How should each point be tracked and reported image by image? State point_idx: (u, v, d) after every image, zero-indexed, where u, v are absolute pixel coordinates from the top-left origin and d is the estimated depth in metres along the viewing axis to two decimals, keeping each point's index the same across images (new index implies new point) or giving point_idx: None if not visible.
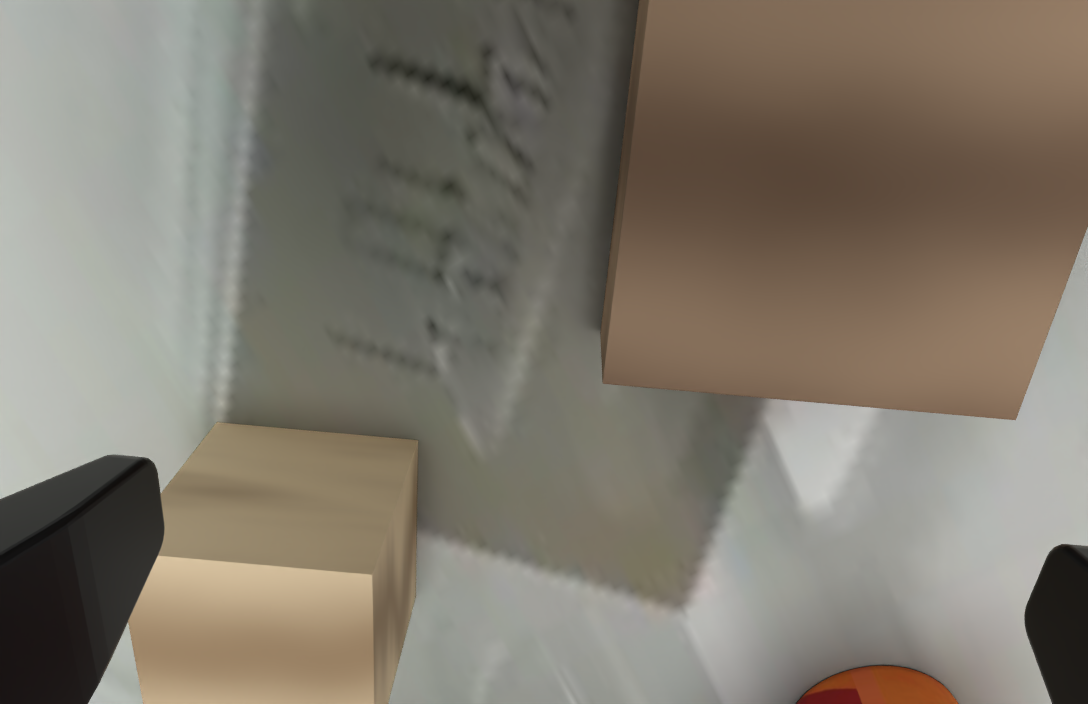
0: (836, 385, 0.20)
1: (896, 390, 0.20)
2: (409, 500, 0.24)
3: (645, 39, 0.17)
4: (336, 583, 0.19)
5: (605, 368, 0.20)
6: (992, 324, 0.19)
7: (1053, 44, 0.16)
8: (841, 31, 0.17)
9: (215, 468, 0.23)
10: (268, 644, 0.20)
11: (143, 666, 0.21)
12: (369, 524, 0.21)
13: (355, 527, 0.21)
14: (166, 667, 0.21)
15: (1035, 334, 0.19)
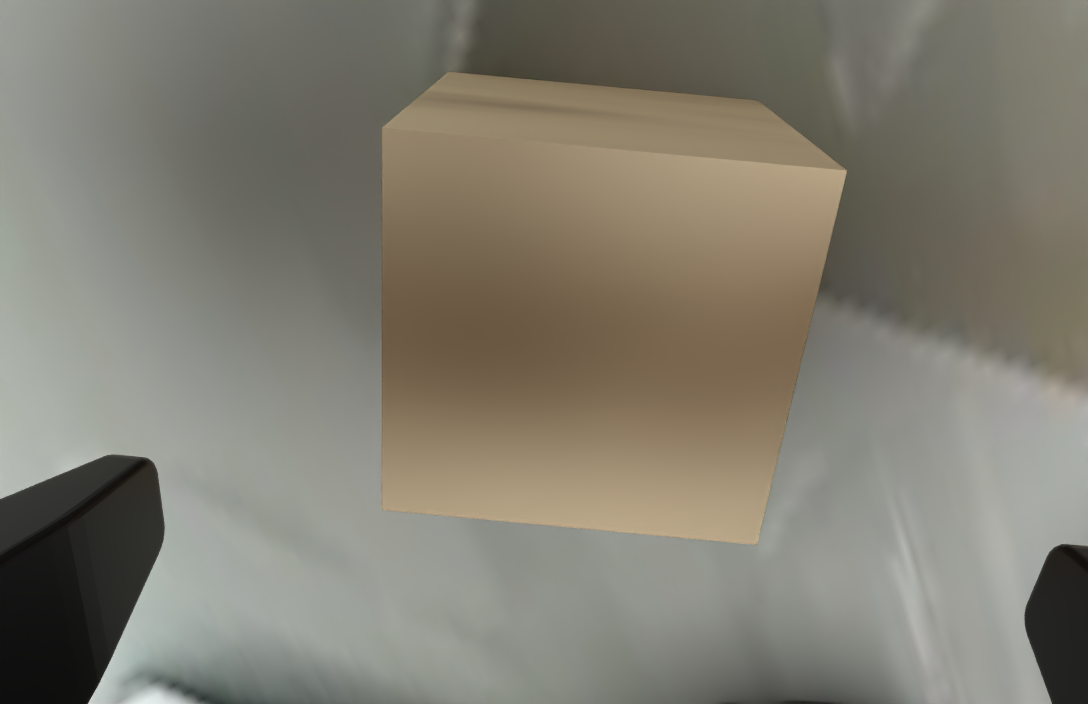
0: None
1: None
2: None
3: None
4: (775, 191, 0.11)
5: None
6: None
7: None
8: None
9: (481, 93, 0.14)
10: (621, 328, 0.12)
11: (393, 378, 0.12)
12: (779, 139, 0.12)
13: (759, 139, 0.12)
14: (433, 379, 0.12)
15: None
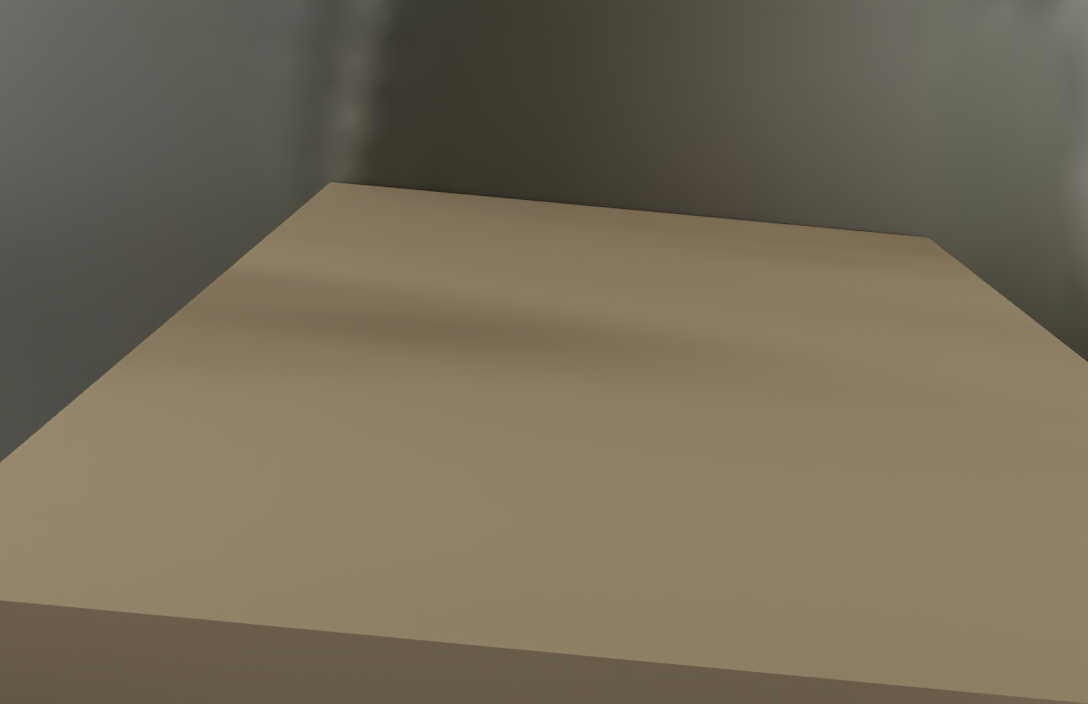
0: None
1: None
2: None
3: None
4: None
5: None
6: None
7: None
8: None
9: (362, 267, 0.06)
10: None
11: None
12: None
13: (1085, 466, 0.04)
14: None
15: None
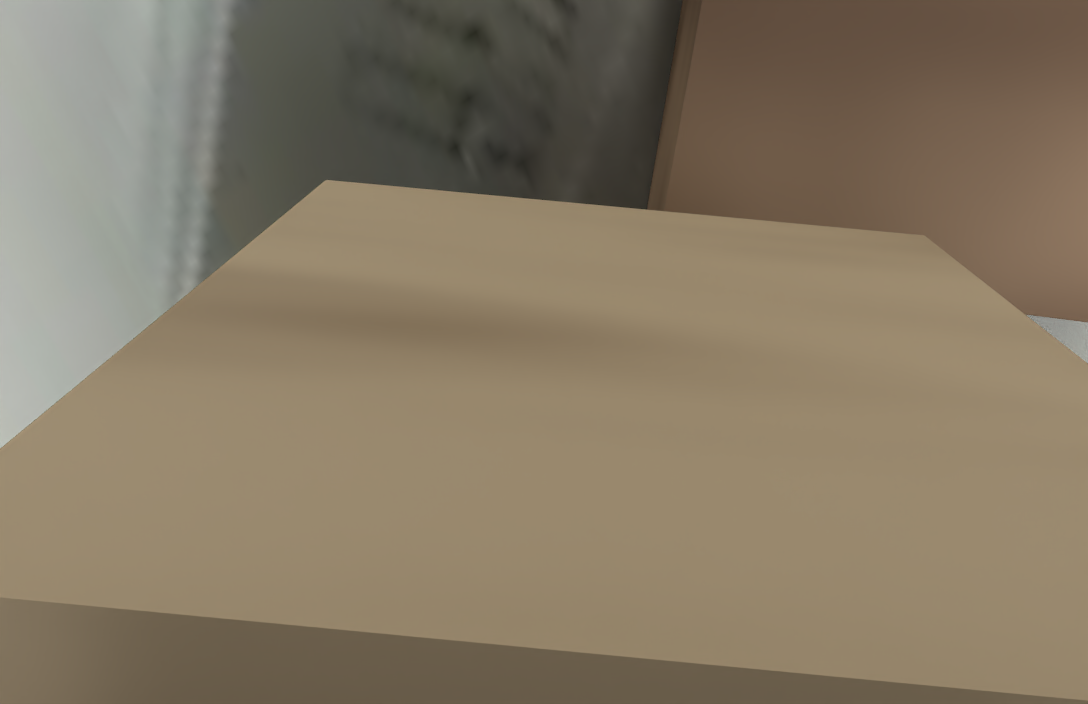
0: None
1: (1010, 287, 0.16)
2: None
3: None
4: None
5: None
6: None
7: None
8: None
9: (355, 264, 0.06)
10: None
11: None
12: None
13: (1080, 464, 0.04)
14: None
15: None
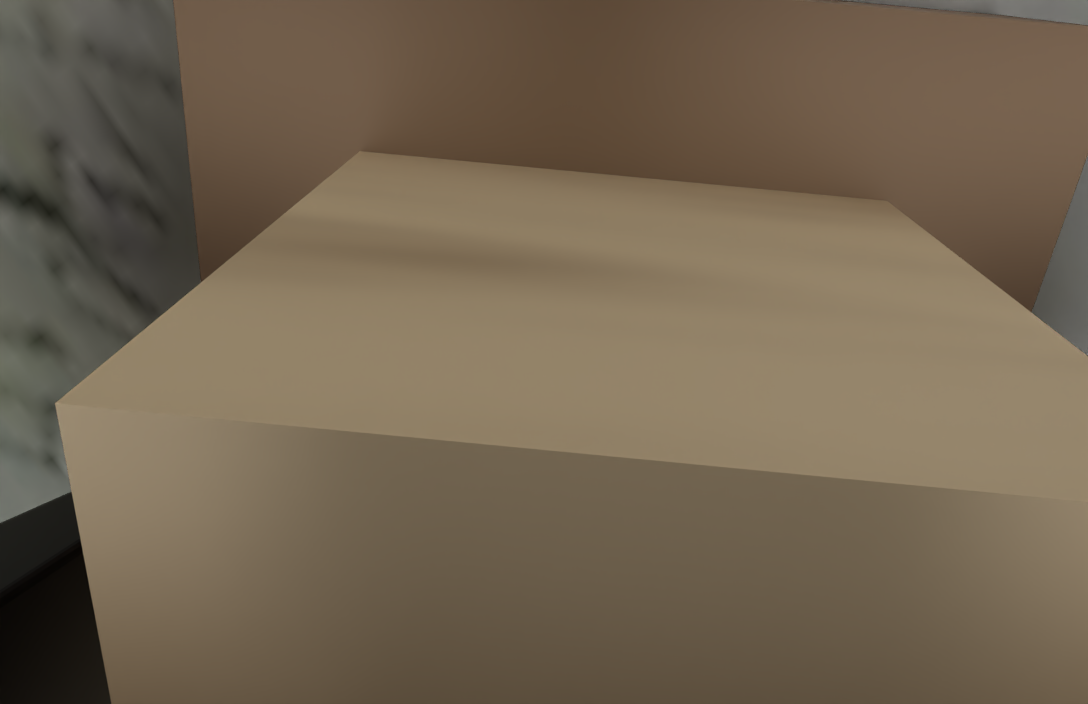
0: None
1: None
2: None
3: (188, 151, 0.09)
4: None
5: None
6: None
7: (902, 167, 0.09)
8: (526, 141, 0.09)
9: (394, 215, 0.07)
10: None
11: None
12: (1021, 353, 0.06)
13: (983, 358, 0.05)
14: None
15: None
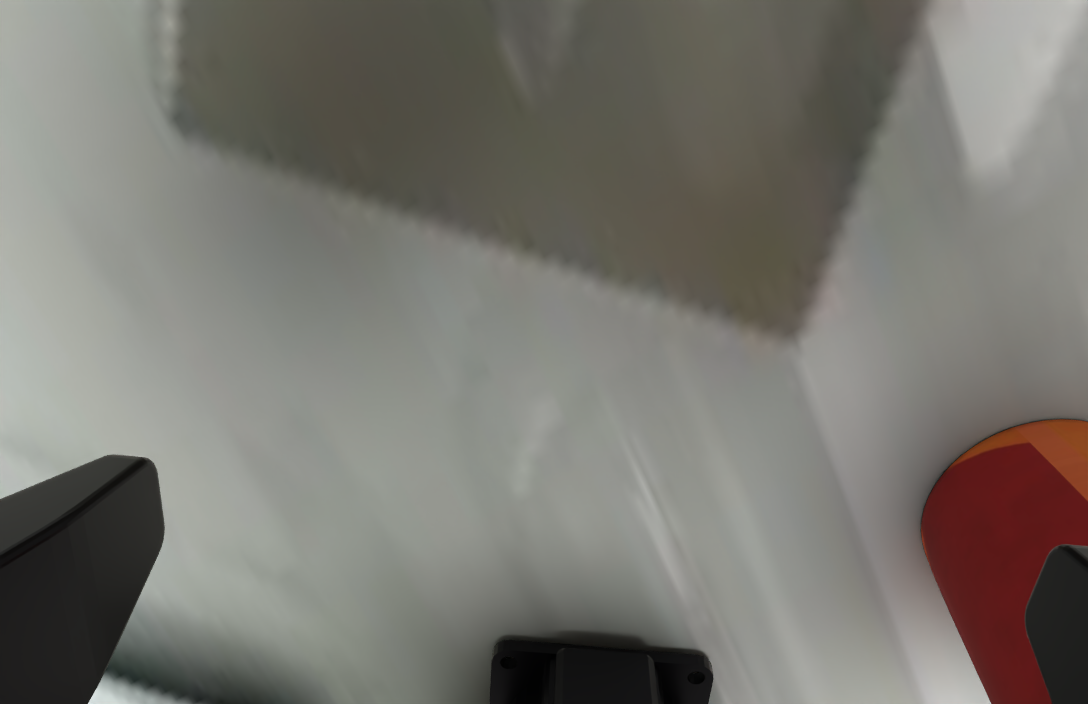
0: None
1: None
2: None
3: None
4: None
5: None
6: None
7: None
8: None
9: None
10: None
11: None
12: None
13: None
14: None
15: None
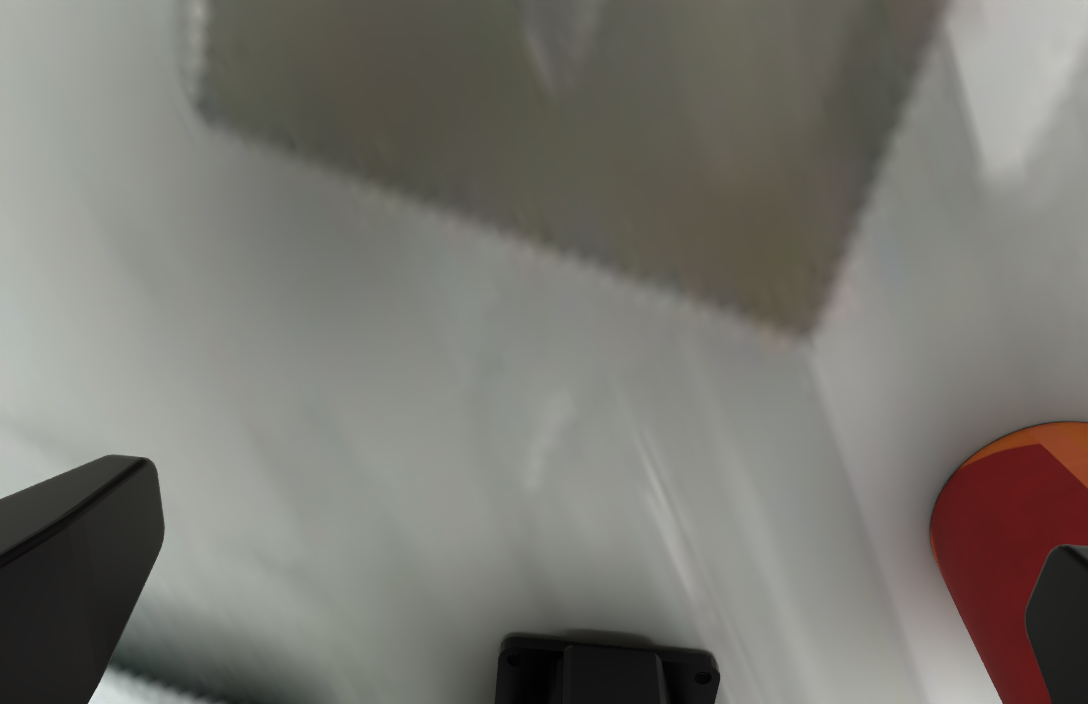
0: None
1: None
2: None
3: None
4: None
5: None
6: None
7: None
8: None
9: None
10: None
11: None
12: None
13: None
14: None
15: None
